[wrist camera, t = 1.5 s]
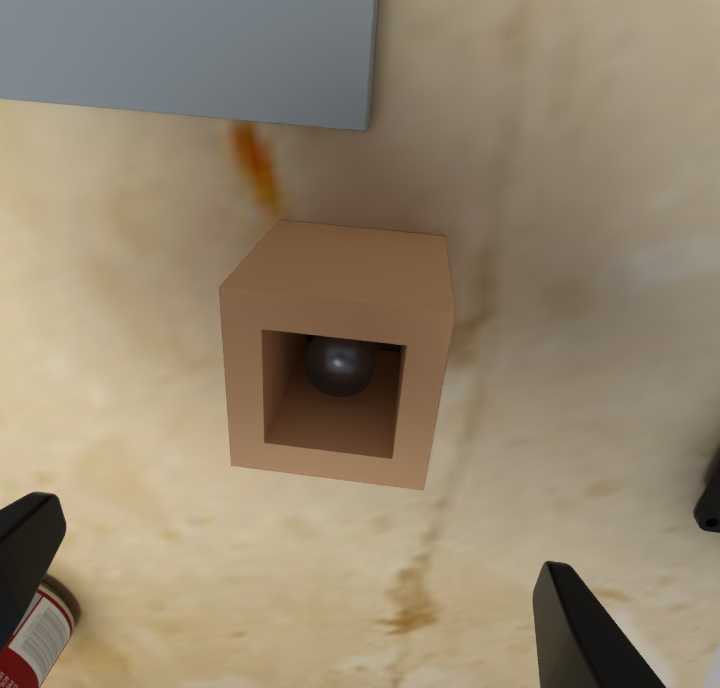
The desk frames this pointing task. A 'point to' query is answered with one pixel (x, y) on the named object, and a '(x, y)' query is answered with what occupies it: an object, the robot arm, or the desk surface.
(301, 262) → the brown square box
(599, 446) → the desk surface
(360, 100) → the board
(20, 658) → the soda can
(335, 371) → the dark grey cylinder
